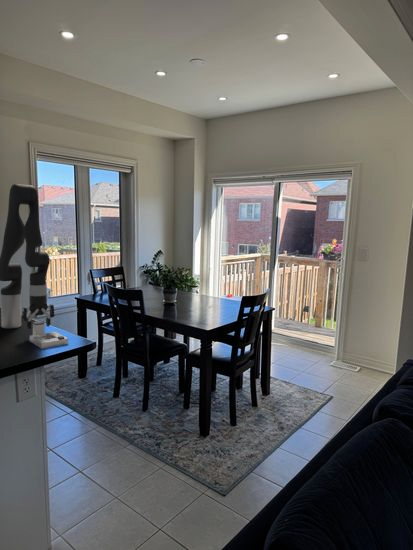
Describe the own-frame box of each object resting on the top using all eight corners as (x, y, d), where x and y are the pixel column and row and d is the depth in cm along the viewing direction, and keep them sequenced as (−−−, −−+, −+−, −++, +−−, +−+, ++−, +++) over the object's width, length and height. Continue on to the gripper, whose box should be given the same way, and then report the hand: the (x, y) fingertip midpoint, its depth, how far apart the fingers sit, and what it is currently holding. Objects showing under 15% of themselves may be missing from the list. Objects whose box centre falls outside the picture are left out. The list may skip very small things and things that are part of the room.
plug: (32, 336, 183) (32, 322, 182) (41, 334, 185) (41, 320, 185) (36, 338, 180) (35, 323, 179) (44, 336, 183) (44, 322, 182)
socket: (29, 341, 175) (29, 334, 175) (55, 336, 183) (55, 330, 183) (41, 348, 165) (41, 341, 165) (68, 343, 173) (68, 337, 173)
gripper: (50, 291, 188) (50, 323, 189) (19, 294, 178) (20, 328, 179) (56, 293, 182) (56, 326, 184) (25, 296, 172) (26, 331, 174)
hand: (38, 327), depth 182 cm, fingers open, 8 cm apart
